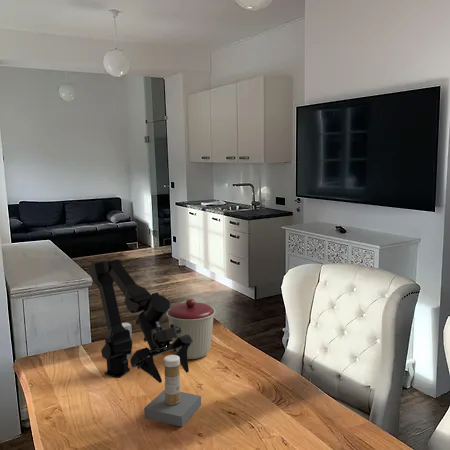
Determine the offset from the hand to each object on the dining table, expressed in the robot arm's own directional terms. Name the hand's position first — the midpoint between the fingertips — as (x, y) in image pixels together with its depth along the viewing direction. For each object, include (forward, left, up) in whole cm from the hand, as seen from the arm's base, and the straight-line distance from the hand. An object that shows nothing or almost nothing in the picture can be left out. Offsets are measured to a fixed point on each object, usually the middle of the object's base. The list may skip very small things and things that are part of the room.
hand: (174, 377), depth 133 cm
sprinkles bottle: (-1, +1, -8) cm, 8 cm away
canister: (-14, +39, -11) cm, 43 cm away
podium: (-1, +1, -11) cm, 11 cm away
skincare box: (-37, +28, -11) cm, 47 cm away
